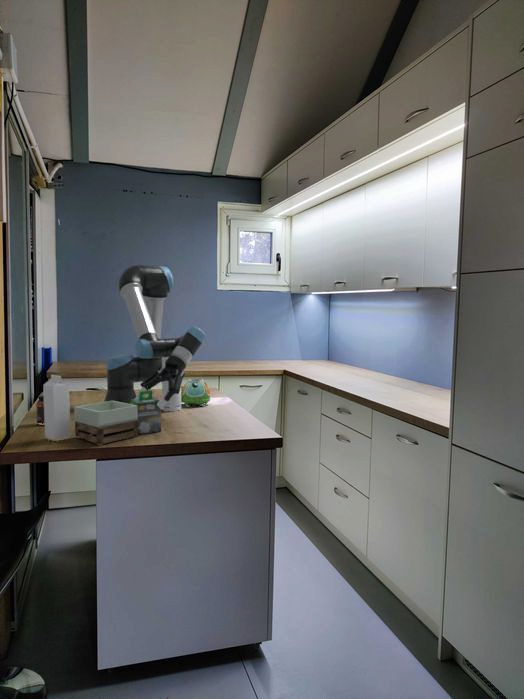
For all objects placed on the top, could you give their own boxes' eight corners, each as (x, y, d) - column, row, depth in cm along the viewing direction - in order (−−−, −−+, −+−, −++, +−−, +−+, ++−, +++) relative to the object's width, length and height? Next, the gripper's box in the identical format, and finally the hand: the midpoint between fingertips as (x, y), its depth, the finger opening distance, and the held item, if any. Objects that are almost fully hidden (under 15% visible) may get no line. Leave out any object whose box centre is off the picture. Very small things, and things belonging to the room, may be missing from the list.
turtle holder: (172, 403, 239) (171, 378, 238) (210, 402, 240) (210, 377, 239) (169, 408, 226) (169, 381, 225) (210, 407, 228) (210, 381, 227)
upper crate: (74, 420, 173) (74, 406, 172) (113, 414, 184) (112, 400, 184) (99, 427, 163) (98, 412, 163) (137, 419, 174) (137, 405, 174)
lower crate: (75, 438, 173) (74, 420, 173) (113, 430, 185) (113, 414, 184) (99, 445, 164) (99, 427, 163) (138, 436, 175) (137, 419, 174)
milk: (60, 436, 176) (59, 373, 175) (70, 438, 173) (69, 374, 171) (44, 439, 171) (42, 375, 170) (54, 442, 168) (52, 376, 166)
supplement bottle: (57, 423, 196) (56, 394, 195) (46, 426, 191) (45, 397, 190) (44, 422, 198) (43, 393, 197) (33, 425, 193) (32, 396, 192)
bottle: (162, 408, 226) (161, 346, 224) (180, 407, 227) (179, 345, 225) (162, 411, 218) (161, 347, 216) (181, 411, 219) (180, 347, 217)
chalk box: (155, 426, 190) (154, 387, 189) (162, 431, 182) (161, 391, 181) (130, 429, 186) (129, 389, 185) (136, 434, 178) (135, 393, 177)
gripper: (206, 369, 188) (175, 415, 177) (163, 365, 204) (133, 407, 193) (195, 356, 183) (163, 402, 173) (152, 352, 199) (120, 395, 189)
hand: (147, 405), depth 183 cm, fingers open, 13 cm apart
